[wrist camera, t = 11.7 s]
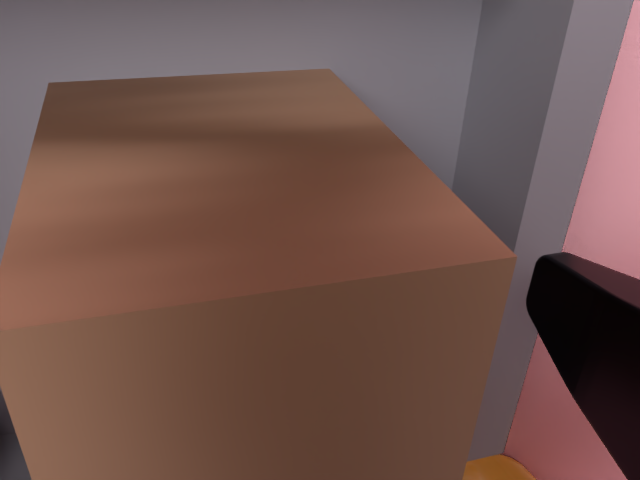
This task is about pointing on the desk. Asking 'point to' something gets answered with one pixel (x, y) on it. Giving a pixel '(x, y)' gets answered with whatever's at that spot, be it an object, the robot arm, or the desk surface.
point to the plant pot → (496, 469)
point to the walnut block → (241, 288)
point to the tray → (377, 94)
